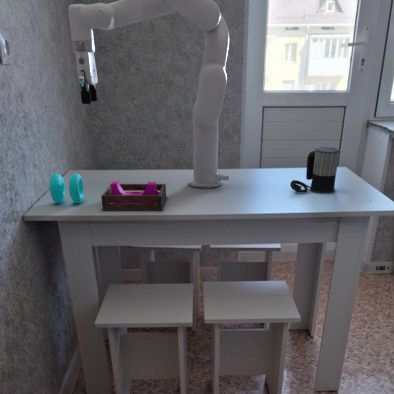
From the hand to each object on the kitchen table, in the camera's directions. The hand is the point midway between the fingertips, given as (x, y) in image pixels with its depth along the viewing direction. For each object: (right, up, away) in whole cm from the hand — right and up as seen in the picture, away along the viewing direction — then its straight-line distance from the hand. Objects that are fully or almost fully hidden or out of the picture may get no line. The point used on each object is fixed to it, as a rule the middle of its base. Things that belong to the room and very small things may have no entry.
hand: (89, 102), depth 179 cm
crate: (+18, -39, -6) cm, 43 cm away
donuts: (-6, -38, -5) cm, 39 cm away
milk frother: (+83, -30, +8) cm, 89 cm away
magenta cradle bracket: (+18, -39, -6) cm, 43 cm away
